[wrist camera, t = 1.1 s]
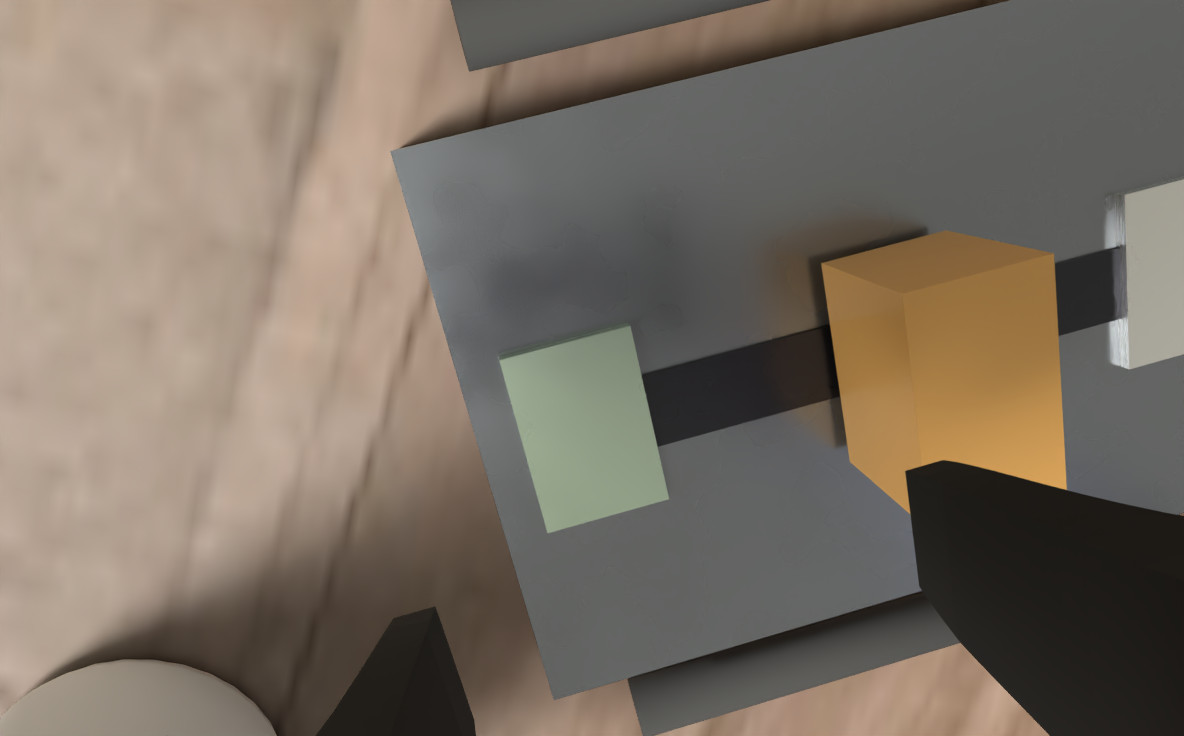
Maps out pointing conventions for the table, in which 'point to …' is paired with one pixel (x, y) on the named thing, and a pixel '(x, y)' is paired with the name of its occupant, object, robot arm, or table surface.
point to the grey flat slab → (789, 308)
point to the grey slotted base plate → (777, 663)
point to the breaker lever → (948, 358)
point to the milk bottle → (135, 704)
